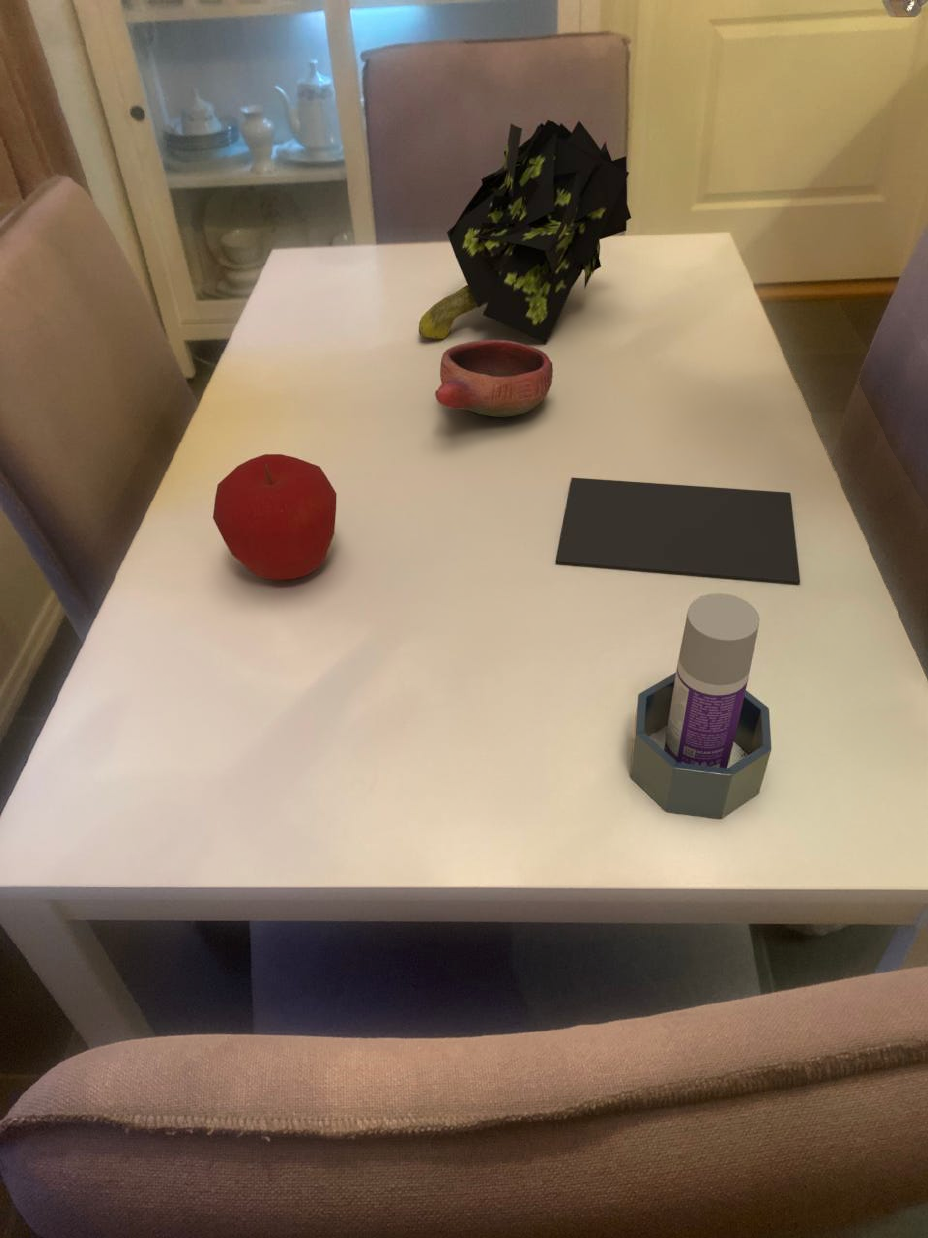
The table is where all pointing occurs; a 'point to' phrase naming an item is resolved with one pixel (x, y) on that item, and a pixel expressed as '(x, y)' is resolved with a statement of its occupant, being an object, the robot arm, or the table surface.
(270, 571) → the apple
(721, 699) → the container
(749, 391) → the table surface
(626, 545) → the mat
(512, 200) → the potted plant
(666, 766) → the octagonal ring
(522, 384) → the bowl
